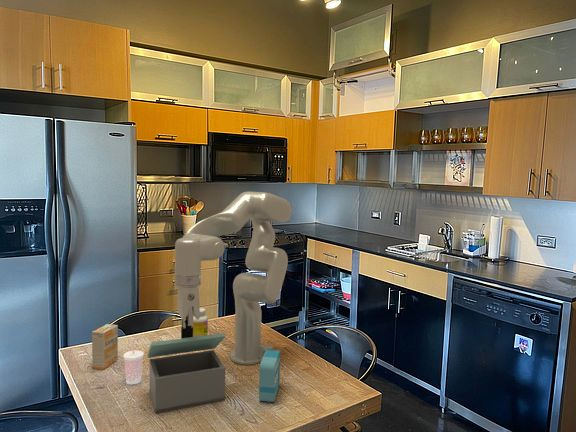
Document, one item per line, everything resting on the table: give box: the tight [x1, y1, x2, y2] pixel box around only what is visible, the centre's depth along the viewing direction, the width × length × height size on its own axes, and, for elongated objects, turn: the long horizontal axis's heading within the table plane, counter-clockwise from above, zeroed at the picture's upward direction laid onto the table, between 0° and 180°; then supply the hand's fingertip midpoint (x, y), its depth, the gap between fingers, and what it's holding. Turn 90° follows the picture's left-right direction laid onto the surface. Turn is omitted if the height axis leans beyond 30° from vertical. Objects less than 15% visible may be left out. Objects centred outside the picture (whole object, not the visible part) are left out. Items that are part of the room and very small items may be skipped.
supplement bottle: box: [193, 307, 209, 337], centre depth 173 cm, size 7×7×13 cm
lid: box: [146, 332, 226, 359], centre depth 131 cm, size 21×15×1 cm
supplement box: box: [91, 323, 119, 371], centre depth 150 cm, size 8×5×13 cm, turn 168°
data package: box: [258, 349, 281, 403], centre depth 133 cm, size 12×4×12 cm, turn 173°
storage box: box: [149, 349, 226, 414], centre depth 131 cm, size 20×14×10 cm
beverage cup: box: [123, 338, 144, 385], centre depth 138 cm, size 6×6×14 cm
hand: (187, 339), depth 129 cm, fingers closed
